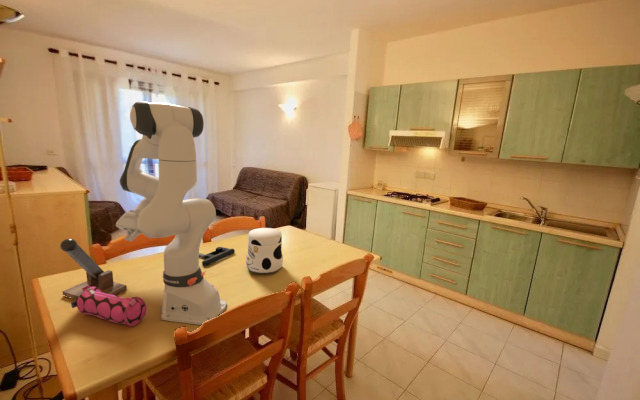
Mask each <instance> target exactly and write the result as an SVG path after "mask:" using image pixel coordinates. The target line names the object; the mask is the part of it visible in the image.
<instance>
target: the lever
mask: <svg viewBox="0 0 640 400" xmlns="http://www.w3.org/2000/svg"><path fill="white" fill-rule="evenodd" d="M59 247H60V249H61V250H62V251H63V252H65V253H66V254H67V255H68V256H69V257H70V258H72V260H73V261H75V263H76V264H78V265H79V266H80V267H81V268H82V269H83V270H84V271H85V273H86V272H87V273H88V274H89V275H90V276H91V277H92V278H93V279H94V280H95V281H98V274H101V273H103V272H105V271H104V270H103V269H102V268H101V267H100V266H99V265H98V263H96V261H94V260H93V259H92V258H91V256H90V255H89V254H88V253H86V251H85V250H84V249H83V248H82V247H81V246H80V245H79V244H78V242H77V241H76V240H75V239H73V238H66V239H63V240H62V241H61V242H60V245H59ZM98 282H99V281H98Z"/></svg>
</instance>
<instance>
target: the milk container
mask: <svg viewBox="0 0 640 400" xmlns="http://www.w3.org/2000/svg"><path fill="white" fill-rule="evenodd" d="M282 239H283V238H282V231H280V230H279V229H276V228H272V227H259V228H254V229H251V230H250V231H249V232H248V235H247V247H248V248H247V254H246V257H245V264H246V267H247V269H248V270H249V272H251V273H255V274H261V275H262V274H263V275H266V274H267V275H268V274H272V273H275V272H278V271H279V270H280V269H281V267H282V266H283V263H284V262H283V261H284V255H283V253H282V243H283V242H282Z"/></svg>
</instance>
